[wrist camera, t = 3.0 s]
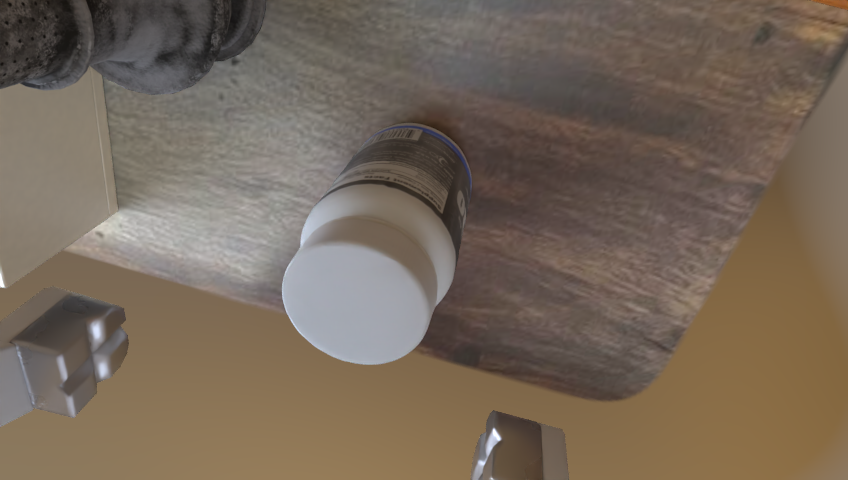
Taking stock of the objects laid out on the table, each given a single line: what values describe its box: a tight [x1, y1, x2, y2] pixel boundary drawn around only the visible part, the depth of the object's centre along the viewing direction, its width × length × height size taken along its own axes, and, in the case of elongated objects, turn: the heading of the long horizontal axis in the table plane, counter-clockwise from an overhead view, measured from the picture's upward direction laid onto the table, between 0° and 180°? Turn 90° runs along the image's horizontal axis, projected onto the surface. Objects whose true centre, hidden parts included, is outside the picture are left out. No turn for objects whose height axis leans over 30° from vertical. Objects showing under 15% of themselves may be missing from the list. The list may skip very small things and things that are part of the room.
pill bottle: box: [282, 123, 472, 364], centre depth 17 cm, size 5×5×8 cm
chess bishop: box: [0, 0, 266, 95], centre depth 13 cm, size 6×6×12 cm
